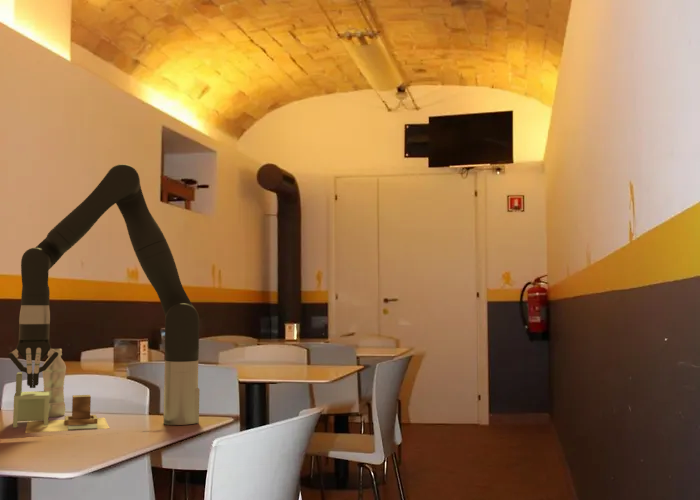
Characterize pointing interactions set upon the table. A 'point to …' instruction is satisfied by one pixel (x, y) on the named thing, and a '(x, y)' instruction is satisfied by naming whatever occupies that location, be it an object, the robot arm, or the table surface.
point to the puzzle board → (67, 425)
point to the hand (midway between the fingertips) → (32, 387)
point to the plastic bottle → (55, 385)
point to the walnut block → (81, 407)
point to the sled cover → (30, 404)
